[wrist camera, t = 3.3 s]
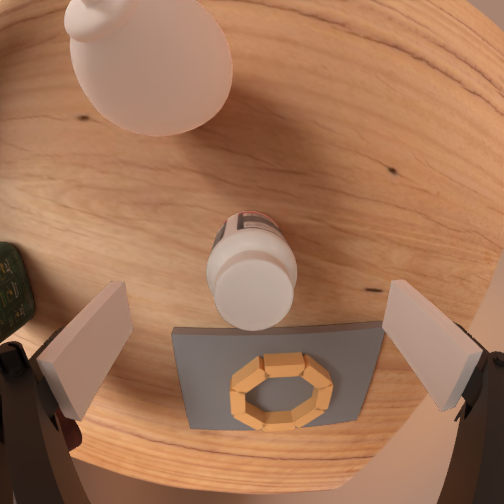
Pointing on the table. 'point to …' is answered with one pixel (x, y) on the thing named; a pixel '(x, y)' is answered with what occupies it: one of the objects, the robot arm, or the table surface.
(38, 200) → the table surface
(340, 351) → the socket board
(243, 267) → the pill bottle
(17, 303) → the coffee jar
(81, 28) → the sauce bottle
